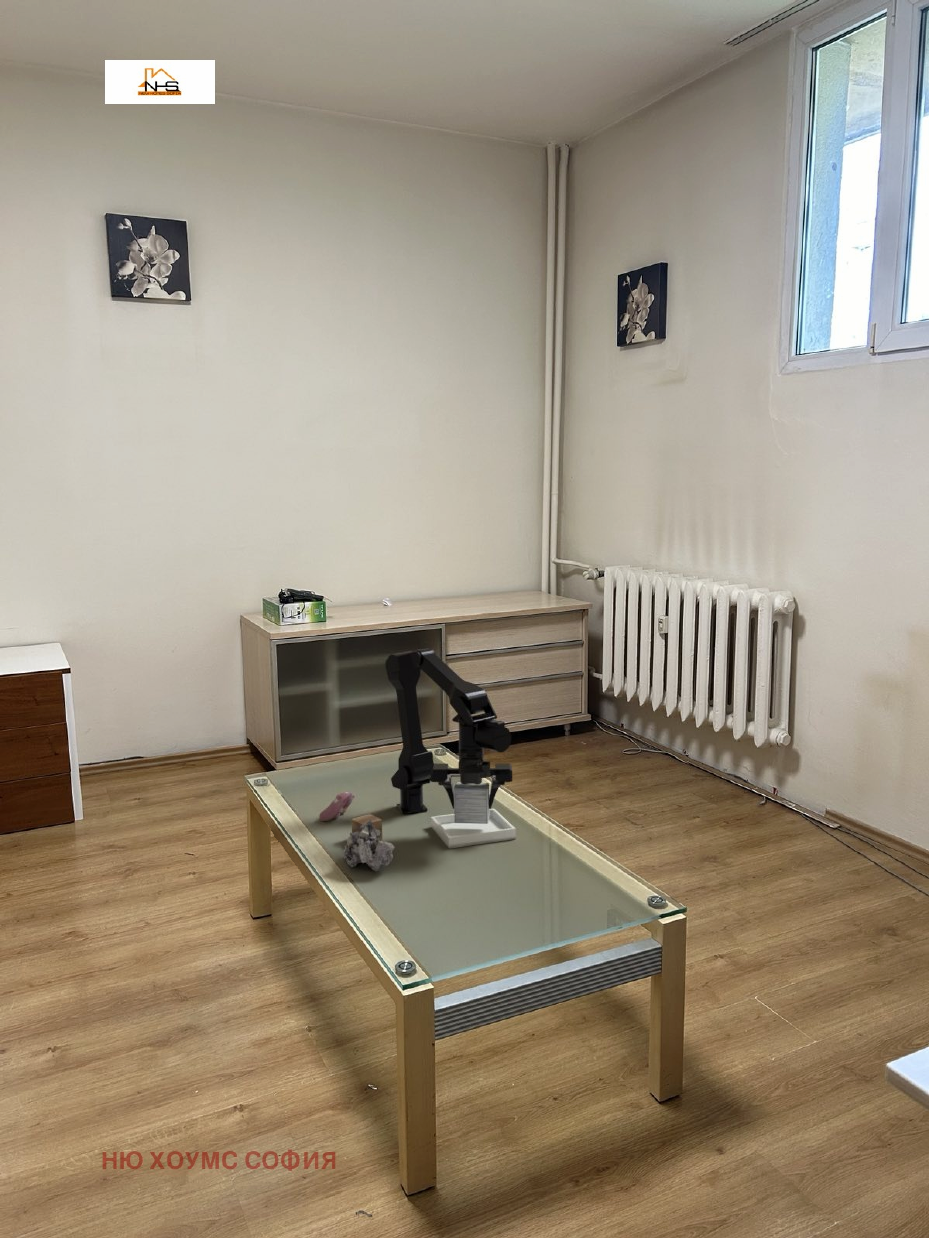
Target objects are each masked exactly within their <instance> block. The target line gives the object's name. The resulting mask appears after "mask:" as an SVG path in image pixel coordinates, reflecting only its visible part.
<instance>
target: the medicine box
mask: <svg viewBox="0 0 929 1238" xmlns="http://www.w3.org/2000/svg"><path fill="white" fill-rule="evenodd" d="M453 790H454V809H453V810H454V813H453V814H454V823H472V824H488V821H489V797H490V783H489V782H482V783H481V784H462V783H461V782H460V781H458V782H456V783H455V784H454V786H453Z"/></svg>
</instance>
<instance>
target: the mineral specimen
mask: <svg viewBox="0 0 929 1238" xmlns="http://www.w3.org/2000/svg"><path fill="white" fill-rule="evenodd" d="M381 834H382V835H383V832H382V833H381V832H380V830H377V829H376V828H374V826H373V824H372V821H370V820H368V821H367V824H364V825H362V826H361V827H360V831H359V832H358V831H357V832H355V833H352V831H351V832H349V835H350V836H348V838H347V839H346V845H345V846H344V852H343V855H344V856H343V859H344V860H345V861H346V863H347V865H348V866H350V867H351V868H353V867H356V866H357V865H358V864H360V863H362V864H364V863H366V864H367V865H368V867H369V868H370V869H371V870H372V871H373V872H376V873H377V872H378V871H379V869H380V868H381V867H387V866H388V865H389V864H391V862H392V861H393V857H394V855H393V850H395V848H396V847H395V846H394V845H393V843H390V842H387V841H386V842H385V841H383V840H382V841H381V840H380V836H381Z"/></svg>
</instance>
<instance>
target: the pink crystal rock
mask: <svg viewBox="0 0 929 1238" xmlns="http://www.w3.org/2000/svg"><path fill="white" fill-rule="evenodd" d="M354 799H355V795H354V794H353V793H351V792H347V791H345V792H341V793H339V794H337V795H336V797H335V798H334V799H333V801H331V803H330V805H328V806H327V807H326V808H325V809H324V810H322V811H321V812H320V813H319V815H318V817H319V818H318V819H319V820H320V821H321V822H327V821H330V820H331V819H333V818H335V819H336V820H337V819H339V817H340V816H341V815H344V814H345V813H346V812H348V811H347V810H348V808H349V807H350V806H351V804H352V802H353V801H354Z"/></svg>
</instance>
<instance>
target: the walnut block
mask: <svg viewBox="0 0 929 1238" xmlns="http://www.w3.org/2000/svg"><path fill="white" fill-rule="evenodd" d="M368 820H370V821H372V824H373V826H374V828H376V829H377V830H380V832H381V833H382V834H381V836H380V840H381V841H382V842H383V819H381V818H379V817H377V816H375V815H373V814H372V813H368V814H365V815H361V816H358V817H353V818H351V833H355V832H357V831H358V832H359V831H360V827H361V826H362V825H364V824H367V821H368Z"/></svg>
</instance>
